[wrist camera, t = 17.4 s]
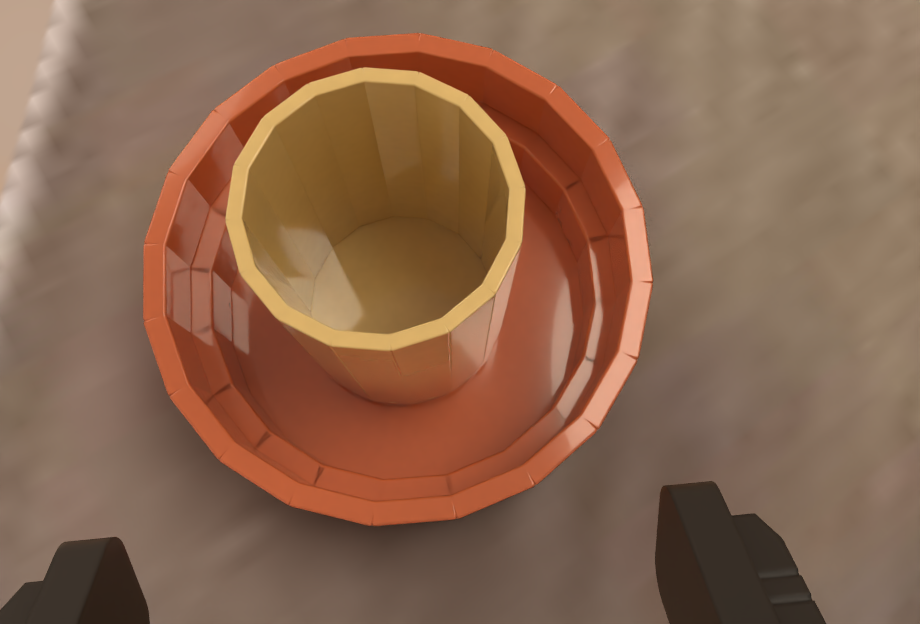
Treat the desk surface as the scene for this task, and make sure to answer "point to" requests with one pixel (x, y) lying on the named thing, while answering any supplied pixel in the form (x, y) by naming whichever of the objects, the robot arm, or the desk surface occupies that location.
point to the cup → (381, 229)
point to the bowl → (461, 411)
